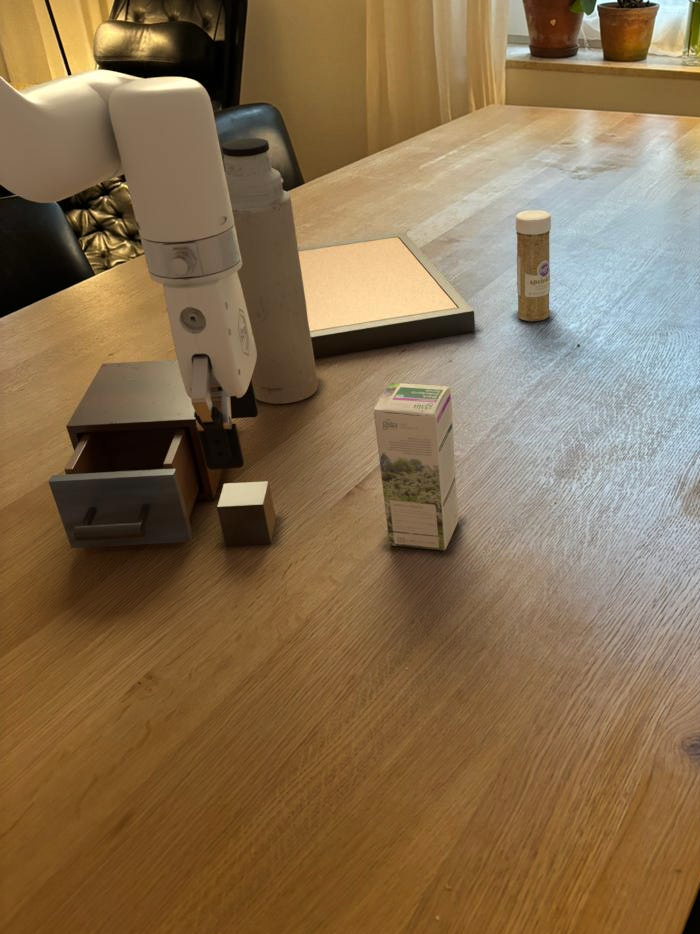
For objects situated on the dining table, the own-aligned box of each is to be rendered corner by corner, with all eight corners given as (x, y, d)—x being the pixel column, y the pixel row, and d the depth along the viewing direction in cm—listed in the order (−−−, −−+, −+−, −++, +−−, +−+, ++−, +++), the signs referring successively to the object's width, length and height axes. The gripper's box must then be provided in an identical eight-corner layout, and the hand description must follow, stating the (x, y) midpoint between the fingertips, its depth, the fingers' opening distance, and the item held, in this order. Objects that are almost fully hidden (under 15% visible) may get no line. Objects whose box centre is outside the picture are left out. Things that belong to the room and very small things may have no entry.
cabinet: (214, 499, 106) (195, 419, 100) (91, 506, 106) (65, 426, 100) (234, 432, 117) (218, 357, 111) (123, 439, 117) (102, 363, 111)
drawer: (181, 570, 94) (163, 501, 90) (57, 577, 94) (32, 508, 90) (213, 471, 108) (198, 407, 104) (105, 477, 108) (86, 413, 104)
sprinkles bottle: (539, 324, 138) (539, 221, 130) (510, 318, 140) (508, 216, 132) (556, 313, 141) (557, 211, 132) (527, 307, 143) (527, 207, 134)
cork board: (406, 250, 163) (182, 283, 156) (405, 232, 162) (178, 264, 154) (475, 331, 137) (208, 376, 129) (474, 310, 135) (203, 354, 127)
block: (225, 546, 99) (216, 507, 96) (232, 521, 102) (223, 483, 99) (271, 543, 99) (263, 504, 96) (276, 519, 102) (268, 480, 99)
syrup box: (460, 520, 101) (452, 382, 92) (445, 553, 96) (435, 412, 87) (404, 515, 102) (391, 378, 93) (387, 548, 97) (371, 407, 88)
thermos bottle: (239, 397, 124) (189, 148, 106) (277, 371, 130) (236, 130, 112) (294, 408, 121) (252, 154, 104) (330, 381, 127) (296, 135, 109)
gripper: (222, 286, 77) (263, 486, 87) (252, 216, 90) (285, 397, 101) (121, 292, 77) (175, 491, 87) (167, 221, 90) (208, 401, 101)
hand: (234, 440), depth 94 cm, fingers open, 9 cm apart
